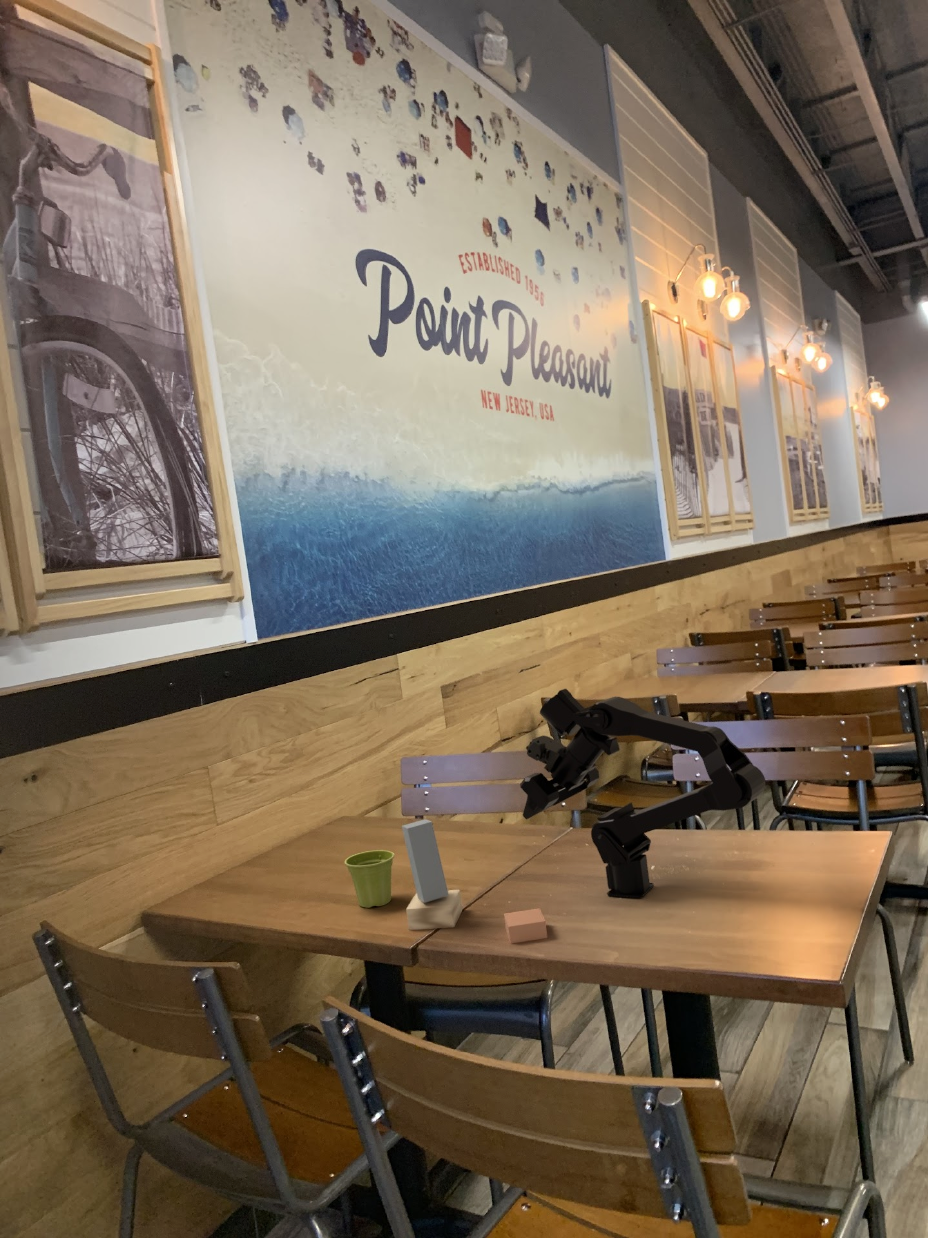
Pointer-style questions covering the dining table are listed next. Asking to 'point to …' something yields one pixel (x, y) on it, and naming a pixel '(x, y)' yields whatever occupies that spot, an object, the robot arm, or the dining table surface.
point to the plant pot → (371, 876)
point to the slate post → (425, 860)
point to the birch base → (434, 912)
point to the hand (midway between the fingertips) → (538, 810)
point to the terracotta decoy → (525, 925)
